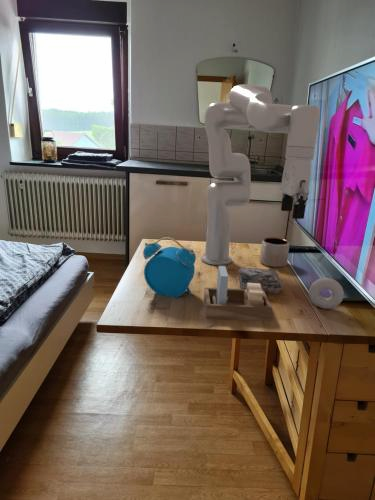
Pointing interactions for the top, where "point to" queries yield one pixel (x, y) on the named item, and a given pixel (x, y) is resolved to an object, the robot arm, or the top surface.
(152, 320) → the top surface
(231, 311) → the rack
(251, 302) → the block
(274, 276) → the rock
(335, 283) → the tape roll
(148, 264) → the alarm clock
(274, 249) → the planter
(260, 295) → the offcut top
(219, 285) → the light blue flat box
